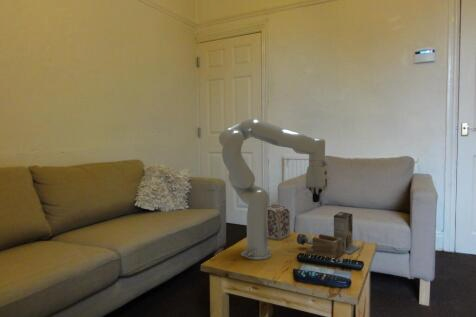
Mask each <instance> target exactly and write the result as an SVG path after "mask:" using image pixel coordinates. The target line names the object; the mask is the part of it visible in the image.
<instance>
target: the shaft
mask: <svg viewBox="0 0 476 317" xmlns="http://www.w3.org/2000/svg"><path fill="white" fill-rule="evenodd" d="M313 238H314V237H309V236H306V234H303V233H299V234H298V235H297V238H296V243H297V244H298V245H303V246H304V245H306V244H308V245H311V246H313Z"/></svg>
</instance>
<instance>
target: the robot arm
mask: <svg viewBox="0 0 476 317" xmlns="http://www.w3.org/2000/svg"><path fill="white" fill-rule="evenodd" d="M249 138H253V139H256V140H259V141H262V142H265V143H267V144H269V145H272V146H276V147H280V148H281V147H283V148H289V149H292V150H293V151H294V152H295V153H296V154H299V155H308V166H307V169H306V173H305V189H306V190H309V191H310V192H311V194H312V198H311V199H312V203H318V202H320V198H321V197H320V196H321V194H322V192H326V191H327V190H328V187H329V179H328V178H329V174H328V169H327V167H326V166H328V162H327V161H326V140H325V139H324V138H312V137H310V136H307V135H305V134H302V133H300V132H296V131H293V130H289V129H286V128H283V127H279V126H277V125H274V124H271V123H269V122H267V121H264V120H261V119H258V118H248V119H246V120H243V121H241V122H239V123H237V124H234V125H233V126H231V127H228V128H226V129H223V130H222V131H221V132H220V134H219V135H218V141H219V144H220V145H221V146H222V150H221V158H222V161H223V163H224V165H225V167H226V169H227V170H228V175H227V176H228V180H229V183H230V184H231V187H232V188H233V190H234V191H235V192H236V195H238V198H239V199H240V200H241V201H242V203H244V204H246V205H248V207H247V211H246V247H245V250H243V251H241V252H240V255H241V257H245V258H247V259H249V260H256V261H257V260H259V261H260V260H266V259H269V258H271V256H272V252H271V251H270V249H269V242H268V241H269V238H268V206H270V196H269V193H268V192H267V190H266V189H265V188H262V187H260V186H258V185H257V186H256V185H255V183H256V182H255V181H256V178H255V175H254V173H253V171H252V170H251V169H250V167H249V165H248V164H247V162H246V161H245V158H244V157H243V154H242V147H243V145H244V142H245V141H246V140H247V139H249Z"/></svg>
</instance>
